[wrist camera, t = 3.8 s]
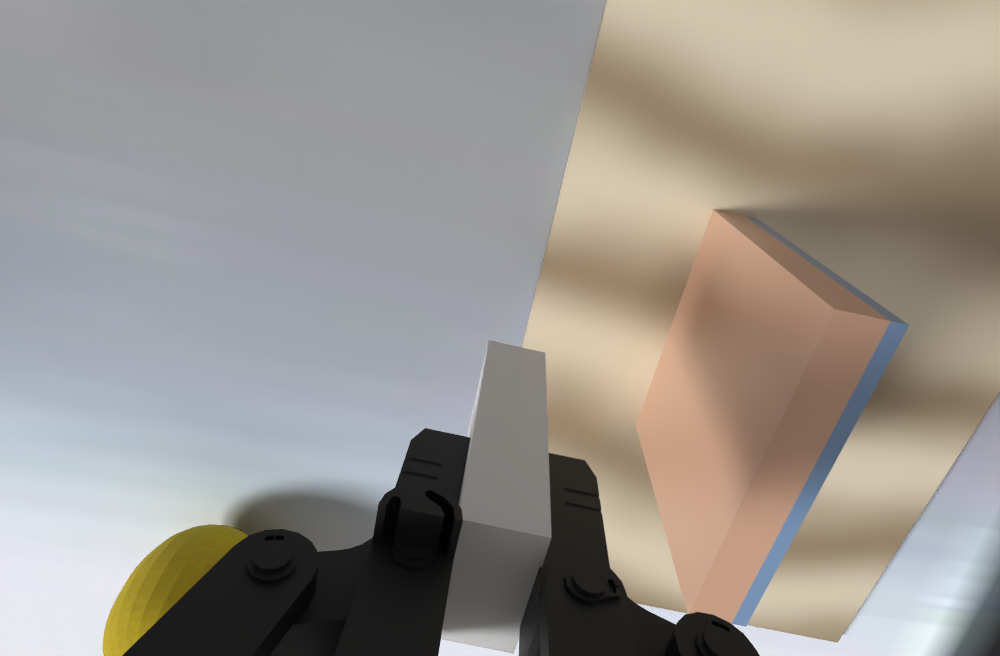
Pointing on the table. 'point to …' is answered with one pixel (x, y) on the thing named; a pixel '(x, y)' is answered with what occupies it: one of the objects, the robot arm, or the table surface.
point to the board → (801, 220)
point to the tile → (754, 406)
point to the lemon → (164, 582)
